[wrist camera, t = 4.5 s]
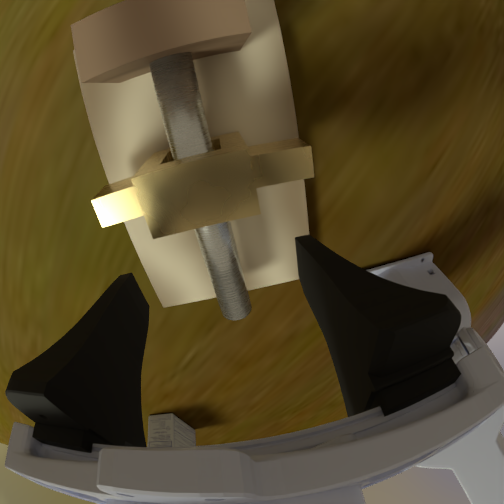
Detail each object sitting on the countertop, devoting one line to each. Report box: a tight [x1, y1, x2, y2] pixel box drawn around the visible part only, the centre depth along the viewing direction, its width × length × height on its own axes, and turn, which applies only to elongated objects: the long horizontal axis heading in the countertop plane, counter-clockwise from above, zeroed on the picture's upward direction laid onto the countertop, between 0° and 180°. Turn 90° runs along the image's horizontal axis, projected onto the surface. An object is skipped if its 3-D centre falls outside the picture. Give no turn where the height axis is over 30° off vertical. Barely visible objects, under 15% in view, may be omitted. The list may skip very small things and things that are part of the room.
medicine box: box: [148, 413, 196, 447], centre depth 33 cm, size 8×4×9 cm, turn 15°
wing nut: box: [91, 132, 314, 239], centre depth 14 cm, size 11×3×5 cm, turn 100°
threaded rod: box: [149, 52, 252, 320], centre depth 14 cm, size 2×16×2 cm, turn 10°
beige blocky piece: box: [71, 0, 309, 307], centre depth 14 cm, size 12×20×7 cm, turn 10°
